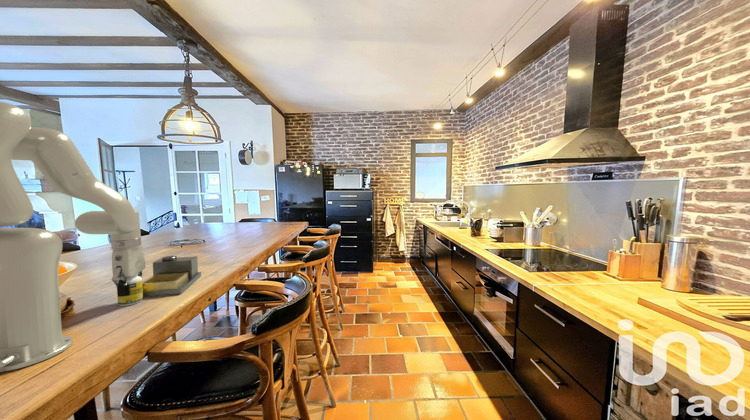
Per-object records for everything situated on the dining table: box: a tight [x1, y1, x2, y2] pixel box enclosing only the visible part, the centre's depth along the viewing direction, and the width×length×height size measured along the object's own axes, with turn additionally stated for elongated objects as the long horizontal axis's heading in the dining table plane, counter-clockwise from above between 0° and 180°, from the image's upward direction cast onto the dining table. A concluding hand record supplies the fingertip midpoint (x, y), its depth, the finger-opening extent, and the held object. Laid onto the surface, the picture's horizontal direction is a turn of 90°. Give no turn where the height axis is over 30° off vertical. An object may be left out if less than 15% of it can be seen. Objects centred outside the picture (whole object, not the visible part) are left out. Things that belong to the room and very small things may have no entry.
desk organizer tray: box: [142, 255, 202, 299], centre depth 103 cm, size 22×16×11 cm
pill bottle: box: [116, 273, 144, 307], centre depth 88 cm, size 6×6×12 cm
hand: (130, 291), depth 88 cm, fingers closed on pill bottle, 6 cm apart
